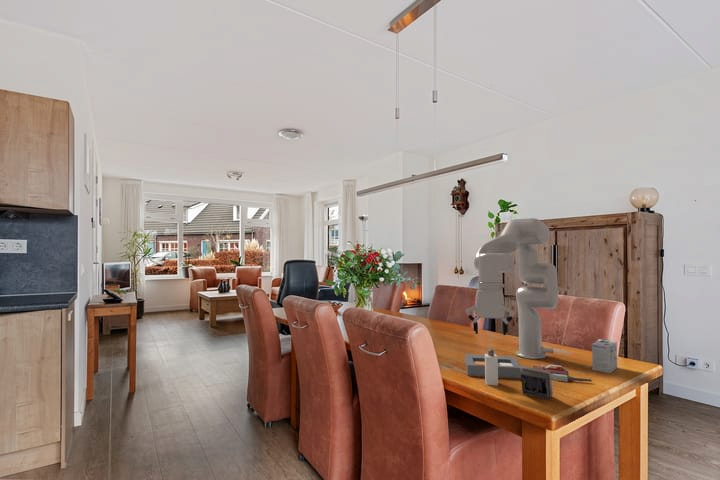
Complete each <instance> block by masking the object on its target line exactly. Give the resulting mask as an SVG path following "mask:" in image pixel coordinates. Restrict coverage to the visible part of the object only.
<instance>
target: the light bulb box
mask: <svg viewBox="0 0 720 480" xmlns="http://www.w3.org/2000/svg"><path fill="white" fill-rule="evenodd" d="M617 346H618V343H617V341H616V340H606V339H599V338H598V339H597V340H596V341H594V342H593V343H592V344H591V356H592V358H591V361H592V366H591V367H592V371H597V372H602V373H606V374H612V373H613V372H614V371H615V370H616V369H617V368H618V350H617V348H618V347H617Z"/></svg>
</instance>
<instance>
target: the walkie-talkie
mask: <svg viewBox="0 0 720 480" xmlns="http://www.w3.org/2000/svg"><path fill="white" fill-rule="evenodd" d="M532 368H535V369H541V370H547V371H549V372H550V373H551V381H556V382H565V383H568V381H573V382H574V381H576V382H593V380H592V379H591V378H583V377H581V378H580V377H573V376H570V374H569V371H568V370H567V369H566V368H564V367H563V366H562V365H560V364H559V365H558V364H549V365H547V366H544V364H541V365H539V366H538V365H533V366H532Z"/></svg>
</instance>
